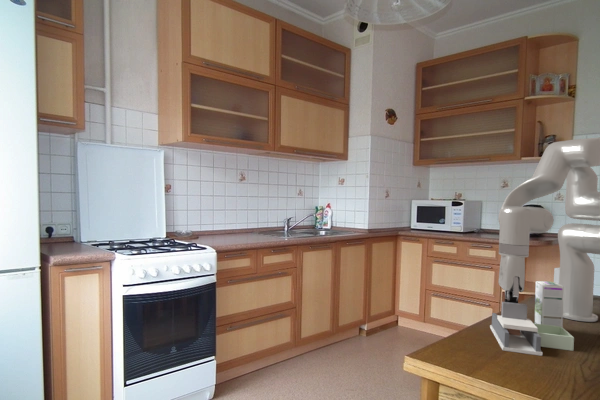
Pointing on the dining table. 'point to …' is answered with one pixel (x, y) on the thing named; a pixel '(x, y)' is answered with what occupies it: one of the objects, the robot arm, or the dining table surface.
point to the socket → (555, 337)
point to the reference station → (516, 339)
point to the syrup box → (549, 303)
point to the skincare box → (556, 275)
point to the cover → (515, 317)
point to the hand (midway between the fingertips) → (510, 313)
